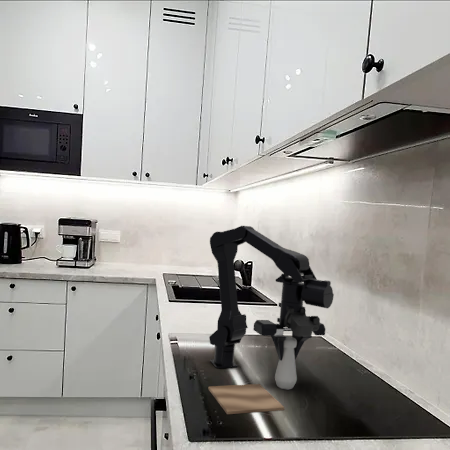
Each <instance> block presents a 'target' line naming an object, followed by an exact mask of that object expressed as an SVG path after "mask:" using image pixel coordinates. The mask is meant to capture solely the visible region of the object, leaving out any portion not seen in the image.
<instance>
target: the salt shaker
mask: <svg viewBox="0 0 450 450" xmlns="http://www.w3.org/2000/svg"><path fill="white" fill-rule="evenodd" d="M284 336H285V335H284ZM285 337H286V339H285V340H284V346H283V358H282V360H281V361H280V360H279V359H278V362H277V366H276V370H275V374H274V379H275V383H276V386H277V387H278V388H279V389H282V390H292V389H293V388H294V386H295V384H296V383H297V380H298V377H297V369H296V368H297V367H296V360H295V355H294V348H295V347H296V345H297V340H296V339H295V338H293V337H292V336H290V335H289V336H288V335H287V336H285Z"/></svg>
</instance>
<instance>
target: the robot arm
mask: <svg viewBox="0 0 450 450" xmlns="http://www.w3.org/2000/svg"><path fill="white" fill-rule="evenodd" d="M245 243H247V244H248V245H249V246H251V247H253V248H254V249H255V250H257V251H258V252H260V253H261V254H263V255H265V256H266V257H268V258H269V259H271V260H272V261H273V263H274V264H275V266H276V268H278V269H279V270H280V271H281V272H282V273H281V274H280V275H279V276H278V277H277V278H276V279H275V282H276V283H281V284H282V289H281V299H280V300H281V301H280V302H278V307H279V308H280V312H279V317H277V318H276V321H277V323H274V322H272V321H271V320H269V319H256V321H254V323H253V329H252V331H254V332H256V333H257V334H258V335H260V336H263V337H266V336H267V337H271V340H272V342H273V344H274V347H275V351H276V354H277V358H278V361H279V360H280V361H281V360H282V358H283V346H284V340H285V339H286V337H285V335H284V332H291V337H293V338H295V339H296V340H297V345H296V347H295V348H294V355H295V361H296V359H297V357H298V355H299V353H300V351H301V349H302V347H303V345H304V343H305V342H306V341H307V340H309V339H312V337H313V336H312V334H314V335H315V336H326V329H327V328H326V326H325V324H324V323H322V322H321V319H320V317H319V316H318V315H309V316H308V315H307V314H306V312H307V310H306V307H305V306H304V303H305V304H306V305H310V306H313V307H319V308H324V309H329V308H330V307H331V306H332V304H333V301H334V298H335V297H334V295H335V293H334V292H333V291H334V290H333V287H332V285H331V284H332V283H331V282H332V281H331V280H320V279H317V277H316V275H315V273H314V272H313V270H312V268H311V266H310V261H309V258H308V257H307V255H305V254H303V253H300V252H299V251H298V252H297V251H294V250H291V249H288V248H285V247H283V246H282V245H279V244H278V243H276V242H275V241H273V240H272V239H270V238H268V237H267V236H265V235H264V234H262V233H261V232H259V231H258V230H256V229H254V227H252V226H250V225H249V226H248V225H240V226H238V227H236V228H231V229H227V230H223V231H215V232H214V233H212V235H211V236H210V238H209V246H210V249H211V253H212V255H213V257H214V259H215V260H216V262H217V271H218V284H219V297H220V306H221V309H220V310H221V311H220V314H219V316H218V318H217V319H218V320H217V325H216V326H217V329H216V330H215V331H214V332H213V333H212V334H211V335H210V336H209V343H210V345H212V346H215V348H214V358H211V359H210V360H209V361H210V362H211V364H212V365H213V366H214V367H215V368H217V369H226V368H238V365H237V364H236V363H235V361H234V360H235V359H234V358H235V348H236V347H235V346H236V344H240V343H241V341H242V339H243V338H244V336H246V334H247V329H249V327H248V324H247V314H246V313H244V314H243V313H241V311H240V310H239V304H238V294H237V293H238V292H237V281H236V280H237V279H236V270H235V258H236V255H237V253H238V247H239V246H240V245H243V244H245Z"/></svg>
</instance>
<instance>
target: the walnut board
mask: <svg viewBox="0 0 450 450" xmlns="http://www.w3.org/2000/svg"><path fill="white" fill-rule="evenodd" d="M207 389H208V391H209V392H210V393H211V395H212V396H213V397H214V399H215V400H216V402H217V403H218V404H219V405H220V407H221V408H222V409H223V411H224V412H225V413H226V415H233V414H235V415H236V414H238V415H239V414H248V413H251V414H252V413H260V412H261V413H262V412H263V413H264V412H276V411H285V406H284V405H282V403H280V401H278V400H277V399H276V398H275V397H274V396H273V395H272V394H271V393H270V392H269V391H268V390H266V388H264V387H263V386H262V385H261V384H260V383H252V384H251V383H249V384H233V385H217V386H216V385H213V386H208V388H207Z"/></svg>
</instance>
